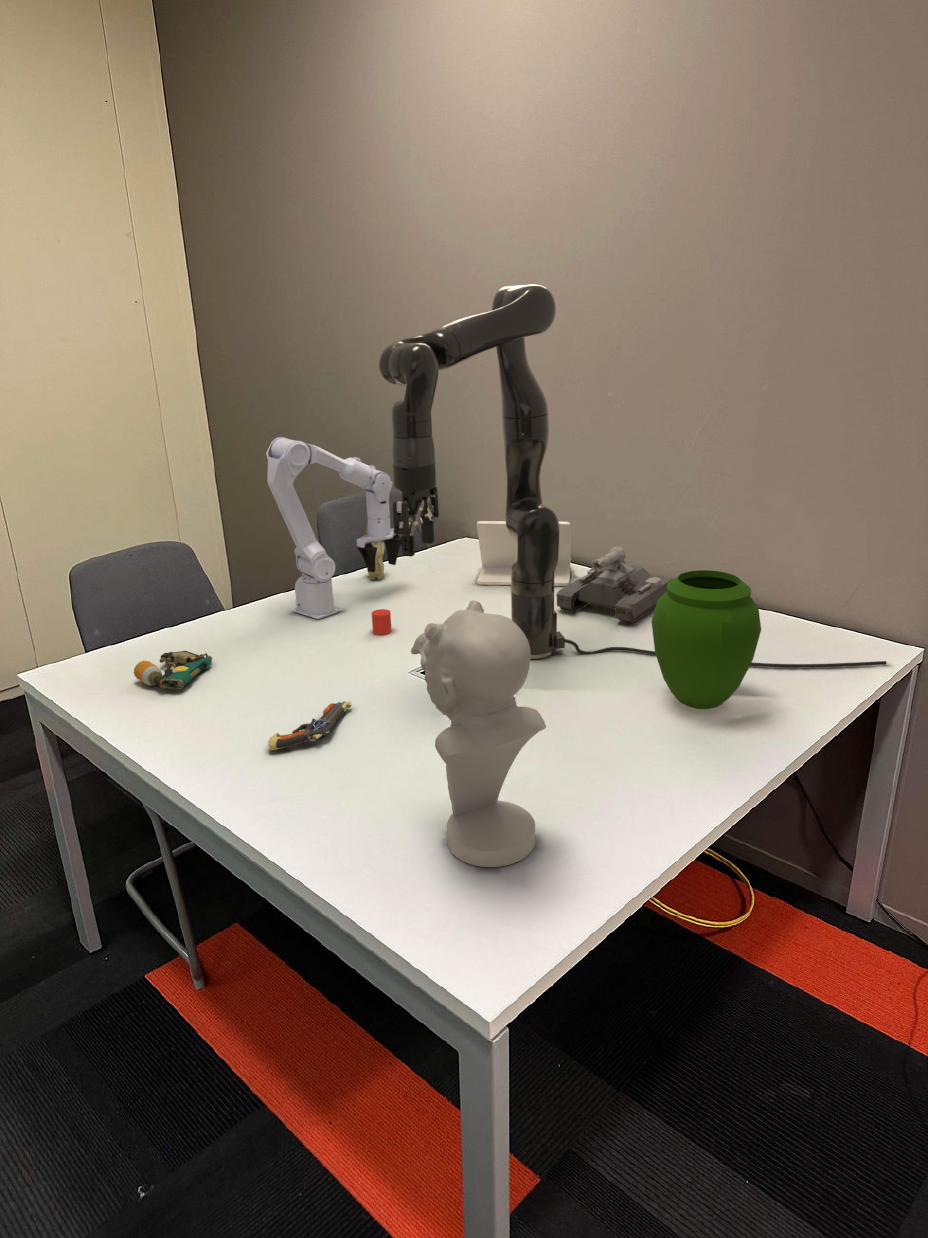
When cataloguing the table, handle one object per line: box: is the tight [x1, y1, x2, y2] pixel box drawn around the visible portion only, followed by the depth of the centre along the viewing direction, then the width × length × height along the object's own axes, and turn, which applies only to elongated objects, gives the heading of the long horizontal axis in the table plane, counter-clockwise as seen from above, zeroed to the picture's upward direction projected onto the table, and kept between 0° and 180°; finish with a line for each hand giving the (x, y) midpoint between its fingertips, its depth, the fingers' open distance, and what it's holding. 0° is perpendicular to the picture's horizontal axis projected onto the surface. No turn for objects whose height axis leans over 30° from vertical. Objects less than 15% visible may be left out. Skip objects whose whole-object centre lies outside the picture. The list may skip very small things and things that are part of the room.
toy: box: [556, 546, 675, 624], centre depth 212 cm, size 25×20×15 cm
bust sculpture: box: [410, 599, 547, 868], centre depth 121 cm, size 16×24×35 cm
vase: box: [651, 569, 762, 710], centre depth 158 cm, size 20×20×24 cm
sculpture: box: [363, 523, 386, 580], centre depth 238 cm, size 6×7×15 cm
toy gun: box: [267, 700, 353, 751], centre depth 156 cm, size 3×19×10 cm
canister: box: [371, 608, 392, 636], centre depth 201 cm, size 4×4×5 cm
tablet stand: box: [476, 520, 572, 587], centre depth 236 cm, size 18×25×17 cm
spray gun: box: [133, 650, 213, 690], centre depth 180 cm, size 4×17×15 cm
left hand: (381, 567), depth 223 cm, fingers open, 7 cm apart
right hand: (418, 549), depth 157 cm, fingers open, 8 cm apart
